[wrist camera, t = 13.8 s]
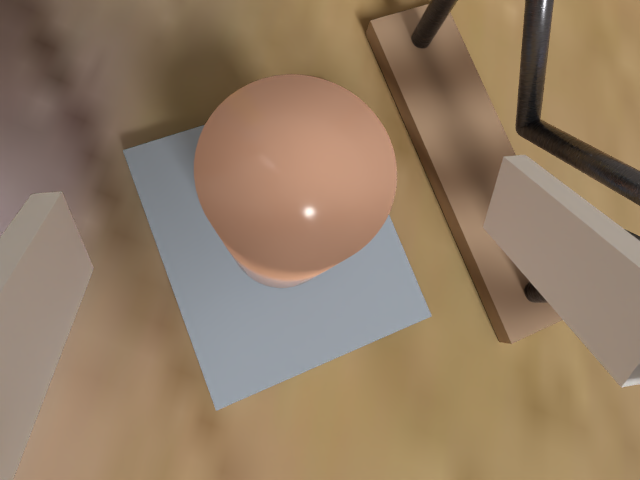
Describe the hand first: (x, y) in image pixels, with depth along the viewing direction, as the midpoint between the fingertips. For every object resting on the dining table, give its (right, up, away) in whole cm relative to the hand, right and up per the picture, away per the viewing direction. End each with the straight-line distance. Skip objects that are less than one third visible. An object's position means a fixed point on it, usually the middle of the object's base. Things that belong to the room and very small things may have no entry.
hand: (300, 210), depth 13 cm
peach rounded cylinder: (-1, -1, +9) cm, 9 cm away
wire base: (+9, +3, +12) cm, 16 cm away
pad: (-2, -1, +10) cm, 10 cm away
